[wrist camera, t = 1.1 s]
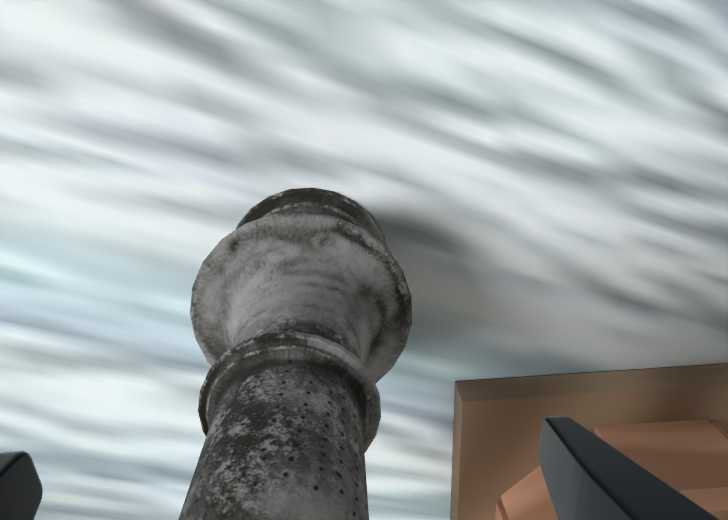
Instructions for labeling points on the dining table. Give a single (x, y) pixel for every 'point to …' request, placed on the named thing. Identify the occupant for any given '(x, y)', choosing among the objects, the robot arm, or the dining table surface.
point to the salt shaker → (294, 359)
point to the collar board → (602, 417)
